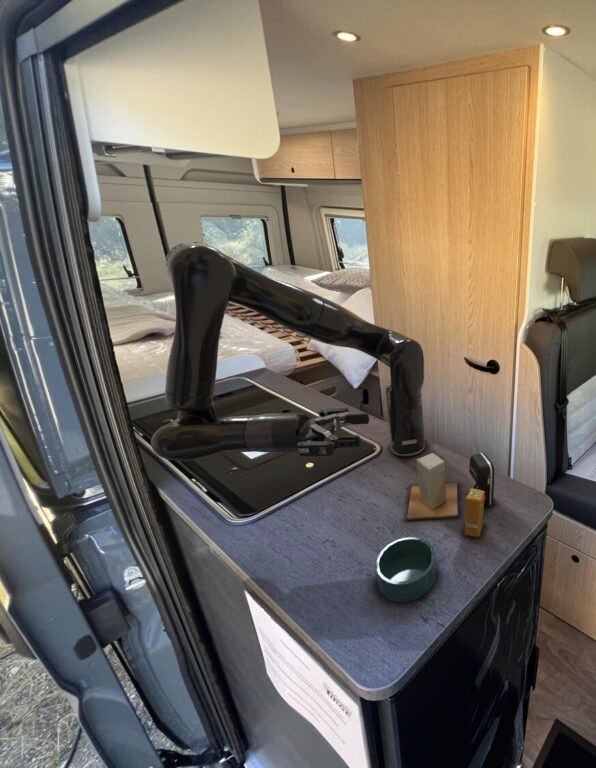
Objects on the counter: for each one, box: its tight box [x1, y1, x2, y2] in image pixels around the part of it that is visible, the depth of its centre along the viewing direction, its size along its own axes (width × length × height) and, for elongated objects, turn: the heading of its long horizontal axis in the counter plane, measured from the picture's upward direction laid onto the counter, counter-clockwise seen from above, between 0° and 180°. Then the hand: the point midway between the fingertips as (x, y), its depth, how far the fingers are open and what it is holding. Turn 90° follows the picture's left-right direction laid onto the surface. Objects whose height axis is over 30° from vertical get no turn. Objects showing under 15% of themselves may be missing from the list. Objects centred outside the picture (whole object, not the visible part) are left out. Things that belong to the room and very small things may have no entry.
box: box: [416, 452, 447, 509], centre depth 88 cm, size 5×4×11 cm
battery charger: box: [468, 452, 495, 507], centre depth 90 cm, size 7×4×11 cm, turn 28°
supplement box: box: [464, 487, 485, 538], centre depth 81 cm, size 3×3×10 cm
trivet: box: [406, 482, 459, 521], centre depth 91 cm, size 11×11×1 cm
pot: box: [375, 536, 437, 603], centre depth 71 cm, size 10×10×4 cm
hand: (364, 429), depth 78 cm, fingers open, 8 cm apart
